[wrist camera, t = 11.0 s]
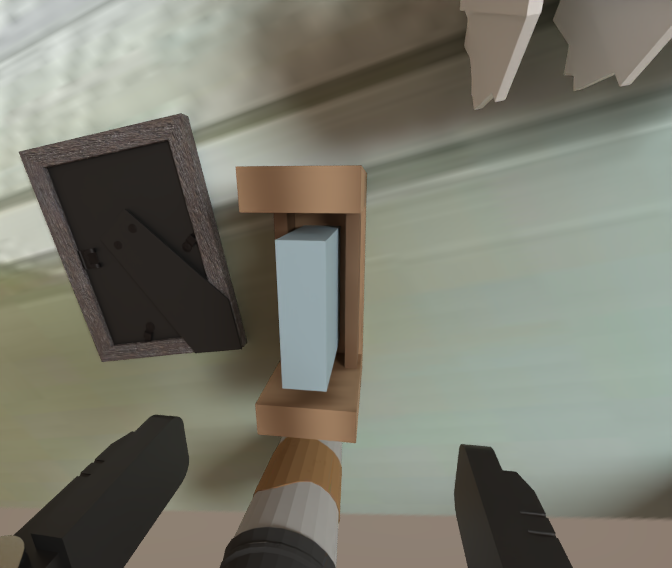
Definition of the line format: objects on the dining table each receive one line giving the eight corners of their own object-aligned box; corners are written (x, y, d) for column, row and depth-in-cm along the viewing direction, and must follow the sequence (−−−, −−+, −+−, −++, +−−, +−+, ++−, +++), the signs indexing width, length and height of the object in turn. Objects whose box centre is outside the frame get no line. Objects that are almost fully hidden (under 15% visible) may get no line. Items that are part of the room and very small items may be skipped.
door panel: (340, 225, 26) (325, 241, 19) (339, 338, 29) (326, 391, 22) (294, 225, 27) (261, 239, 19) (298, 336, 30) (270, 387, 22)
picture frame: (249, 340, 33) (191, 117, 28) (241, 349, 31) (177, 112, 26) (113, 354, 36) (36, 153, 30) (98, 364, 34) (13, 151, 28)
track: (366, 173, 27) (361, 165, 17) (362, 367, 32) (355, 443, 22) (284, 174, 28) (235, 166, 18) (292, 362, 33) (257, 434, 23)
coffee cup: (294, 476, 37) (242, 659, 23) (263, 417, 35) (185, 574, 21) (363, 461, 35) (354, 648, 21) (334, 397, 33) (302, 554, 19)
